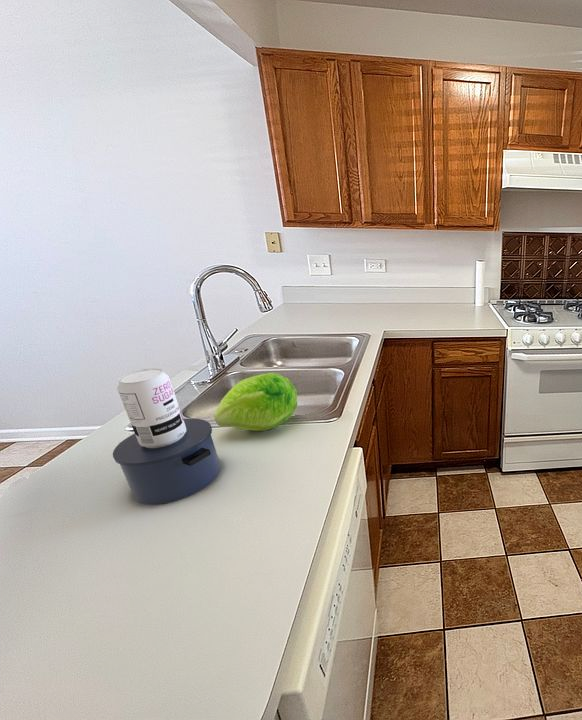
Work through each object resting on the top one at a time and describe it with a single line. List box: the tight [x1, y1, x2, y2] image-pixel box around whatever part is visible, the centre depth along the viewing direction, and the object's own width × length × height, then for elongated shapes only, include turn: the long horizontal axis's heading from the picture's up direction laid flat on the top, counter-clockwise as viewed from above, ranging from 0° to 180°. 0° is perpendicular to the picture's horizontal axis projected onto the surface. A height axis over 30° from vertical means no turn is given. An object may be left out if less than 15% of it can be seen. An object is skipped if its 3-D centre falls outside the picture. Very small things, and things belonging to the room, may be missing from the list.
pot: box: [112, 417, 222, 506], centre depth 87 cm, size 20×17×11 cm
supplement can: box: [116, 367, 186, 448], centre depth 82 cm, size 8×8×15 cm
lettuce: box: [213, 372, 298, 432], centre depth 107 cm, size 17×20×15 cm
